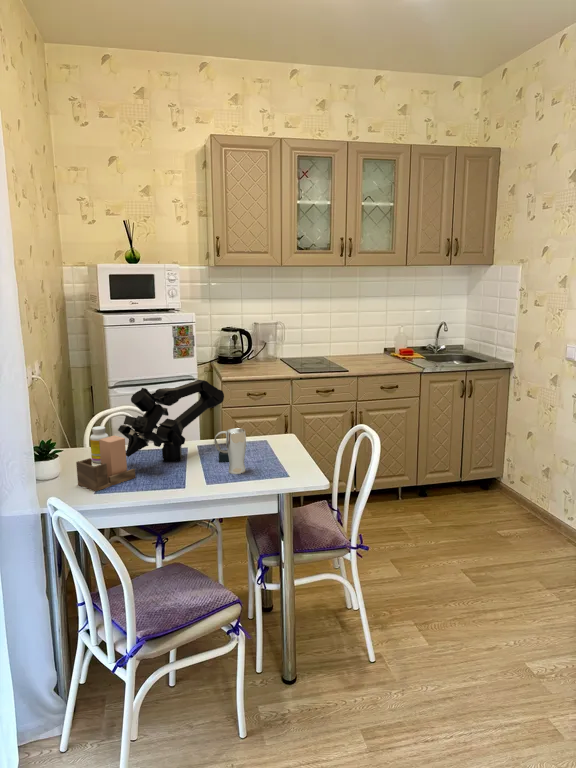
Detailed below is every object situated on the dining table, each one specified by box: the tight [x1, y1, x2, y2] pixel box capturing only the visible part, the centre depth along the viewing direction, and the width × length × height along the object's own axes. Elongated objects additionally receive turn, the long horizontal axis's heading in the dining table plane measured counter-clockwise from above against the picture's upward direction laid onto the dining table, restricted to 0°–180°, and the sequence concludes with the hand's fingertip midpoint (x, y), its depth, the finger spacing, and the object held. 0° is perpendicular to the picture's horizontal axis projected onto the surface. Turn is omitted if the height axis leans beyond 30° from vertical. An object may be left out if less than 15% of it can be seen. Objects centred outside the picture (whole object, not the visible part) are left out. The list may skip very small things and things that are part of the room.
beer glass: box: [225, 427, 247, 475], centre depth 206 cm, size 7×7×15 cm
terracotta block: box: [99, 435, 128, 478], centre depth 200 cm, size 6×6×13 cm
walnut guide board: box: [75, 457, 137, 492], centre depth 199 cm, size 16×10×8 cm, turn 142°
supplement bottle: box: [89, 425, 110, 464], centre depth 220 cm, size 7×7×13 cm
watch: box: [213, 430, 229, 463], centre depth 219 cm, size 6×8×11 cm
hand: (127, 455), depth 205 cm, fingers closed
